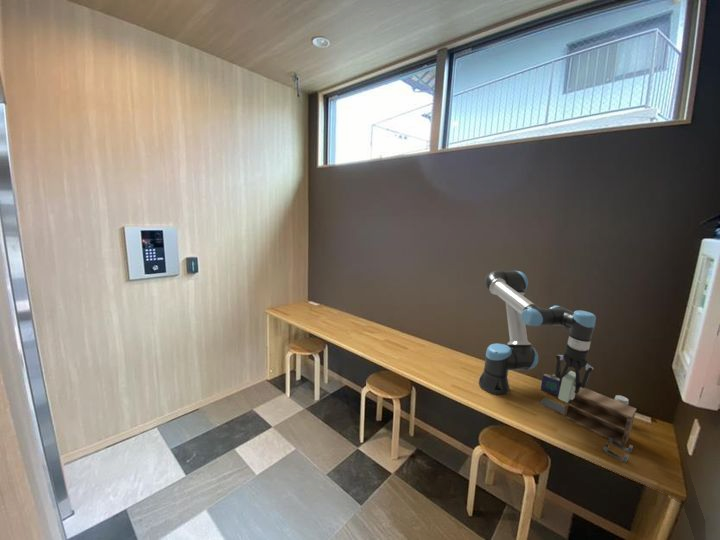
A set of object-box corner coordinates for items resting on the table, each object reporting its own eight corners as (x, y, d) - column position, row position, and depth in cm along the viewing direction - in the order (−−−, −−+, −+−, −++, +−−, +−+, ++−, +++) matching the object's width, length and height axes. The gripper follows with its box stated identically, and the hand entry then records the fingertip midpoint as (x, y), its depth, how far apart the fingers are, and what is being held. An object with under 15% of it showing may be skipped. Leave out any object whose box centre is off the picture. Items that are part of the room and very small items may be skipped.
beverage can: (616, 417, 140) (622, 394, 137) (626, 424, 135) (632, 401, 133) (607, 417, 140) (612, 394, 137) (616, 424, 135) (621, 401, 132)
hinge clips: (603, 451, 119) (604, 446, 118) (610, 440, 125) (611, 435, 124) (626, 463, 113) (627, 457, 113) (631, 451, 119) (633, 446, 119)
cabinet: (563, 416, 139) (568, 390, 136) (569, 409, 144) (575, 383, 141) (624, 446, 122) (631, 416, 119) (629, 437, 127) (636, 408, 124)
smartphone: (544, 397, 153) (579, 411, 142) (544, 398, 153) (579, 413, 142) (539, 402, 148) (575, 418, 137) (539, 404, 148) (574, 420, 137)
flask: (560, 395, 156) (564, 376, 154) (560, 397, 154) (563, 378, 152) (540, 388, 162) (543, 370, 159) (539, 390, 159) (543, 372, 157)
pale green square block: (557, 398, 128) (562, 377, 126) (566, 390, 134) (570, 370, 132) (569, 404, 125) (574, 383, 123) (577, 395, 131) (582, 375, 129)
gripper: (552, 341, 129) (542, 389, 134) (599, 358, 116) (586, 409, 121) (558, 337, 133) (549, 383, 138) (604, 352, 121) (592, 403, 126)
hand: (566, 395), depth 130 cm, fingers closed on pale green square block, 3 cm apart
